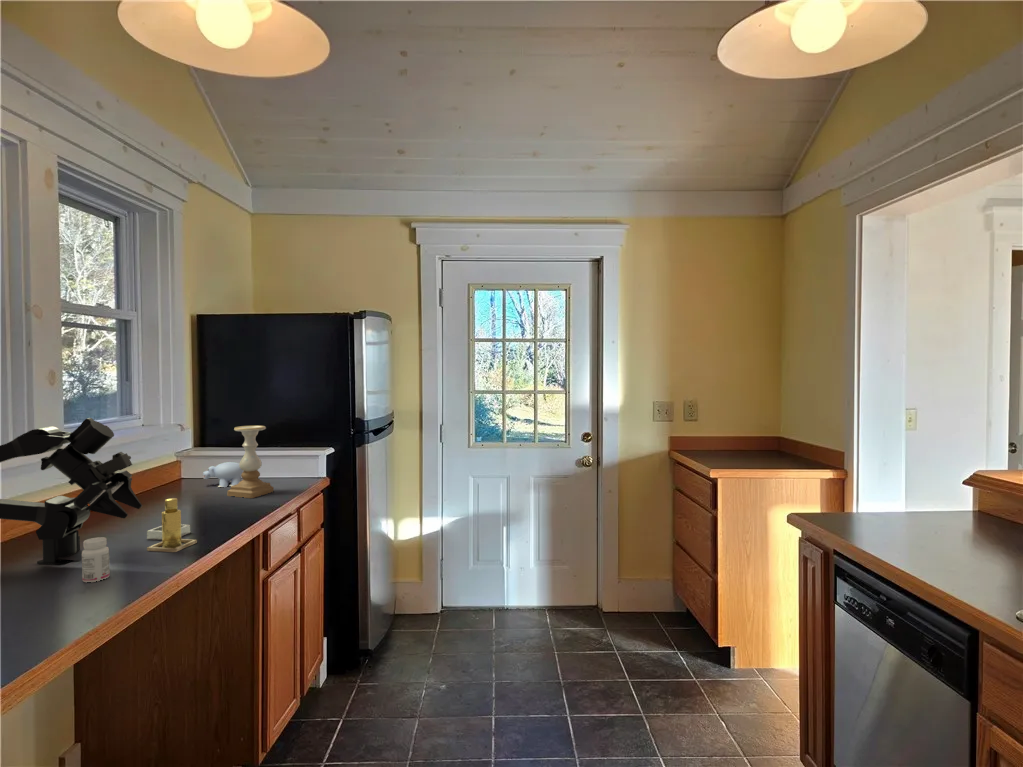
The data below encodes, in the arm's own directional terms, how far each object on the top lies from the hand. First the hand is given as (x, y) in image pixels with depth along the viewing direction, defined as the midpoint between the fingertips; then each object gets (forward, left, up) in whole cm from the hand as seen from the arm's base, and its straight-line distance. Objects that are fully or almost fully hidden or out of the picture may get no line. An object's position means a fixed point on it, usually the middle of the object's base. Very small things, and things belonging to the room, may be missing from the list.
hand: (133, 512), depth 138 cm
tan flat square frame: (+3, -8, -10) cm, 13 cm away
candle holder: (+65, +12, -11) cm, 67 cm away
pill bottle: (-15, -4, -11) cm, 19 cm away
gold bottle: (+3, -8, -9) cm, 12 cm away
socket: (+11, 0, -10) cm, 15 cm away
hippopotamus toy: (+78, +31, -11) cm, 85 cm away
